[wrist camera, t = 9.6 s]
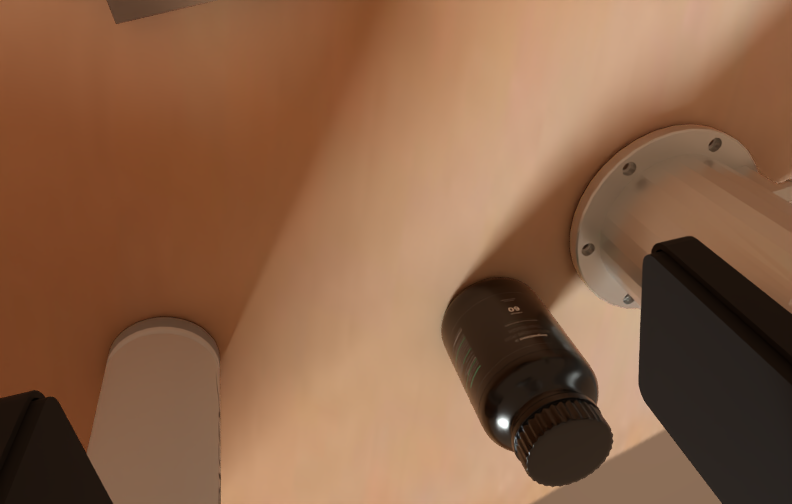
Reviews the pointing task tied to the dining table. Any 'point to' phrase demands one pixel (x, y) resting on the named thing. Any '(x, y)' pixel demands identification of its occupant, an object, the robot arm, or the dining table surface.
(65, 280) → the dining table surface
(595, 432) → the supplement bottle
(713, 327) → the robot arm
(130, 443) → the travel mug
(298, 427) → the dining table surface
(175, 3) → the gauge plate
